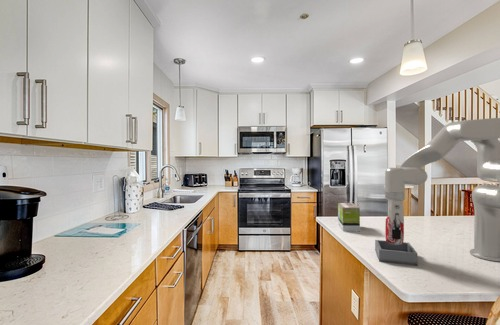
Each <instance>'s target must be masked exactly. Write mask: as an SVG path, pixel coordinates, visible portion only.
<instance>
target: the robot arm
mask: <svg viewBox="0 0 500 325" xmlns="http://www.w3.org/2000/svg"><path fill="white" fill-rule="evenodd" d="M499 139H500V117H492V118H491V117H490V118H479V119H465V120H459V121H453V122H449V123H447V124H445V125H444V126H442V128H441V129H440V130H439V131H438V132H437V133H436V134H435V135H434V137H433V138H432V139H431V140H430V141H429V142H428V143H427V144H425V146H423V147H422V148H420V149H418V150H417V151H416V152H414V153H412V154H411V155H410V156H409V157H407V158H406V159H405V160H404V161H403V162H402V163H401V164H400V165H399V166H398V167H388V168H385V171H384V172H385V173H384V174H385V176H384V177H385V178H384V190H385V191H384V199H385V200H387V215H388V216H389V217H390V221H391V222H392V223H393V229H392V238H393V239H401V228H400V221H401V223H402V224H403V223H404V224H405V214H404V201H405V199H406V197H405V196H406V195H405V194H406V192H405V191H406V185H413V186H418V185H419V186H420V185H422V184H425V183H426V181H427V180H428V173H427V171H426V170H424V169H423V167H425V166H426V165H429V164H433V163H436V162H437V161H441V160H443V159H444V158H446V157H447V155H448V154H449V153H450V152H451V151H452V150H453V149H454V148H455V147H456V146H457V145H458V143H460V142H465V141H466V142H467V141H470V142H472V143H473V144H474V146H475V148H476V153H477V154H476V155H477V158H476V160H477V162H476V175H477V178H479V179H480V181H481V180H482V181H483V182H484V181H485V182H490V183H498V184H497V185H496V184H486V183H485V184H480V185H476V186H475V187H474V188H473V189H472V191H471V199H472V203H473V208H474V210H473V211H474V223H473V224H474V225H473V226H474V229H473V230H474V235H473V236H474V239H473V242H474V246H473V247H474V248H472V249H470V250H469V253H470V255H471V256H473V257H476V258H478V259H482V260H486V261H490V262H491V261H492V262H500V140H499ZM394 221H396V222H394ZM394 224H395V226H394Z"/></svg>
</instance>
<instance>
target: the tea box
mask: <svg viewBox="0 0 500 325" xmlns="http://www.w3.org/2000/svg"><path fill="white" fill-rule="evenodd" d="M360 213H361V211H360V207H359V206H358V205H357V204H355V203H354V202H338V203H337V217H338V218H337V221H338V226H339V227H340V229H341V230H342V231H343V232H354V233H355V232H356V233H358V232H361V225H360V224H361V219H360V218H361V217H360V216H361V215H360Z"/></svg>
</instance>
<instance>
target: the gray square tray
mask: <svg viewBox="0 0 500 325" xmlns="http://www.w3.org/2000/svg"><path fill="white" fill-rule="evenodd" d="M374 241H375V242H374V251H375V254H376V256H377V257H376V258H377V259H378V262H379V263H391V264H398V265H408V266H416V267H418V252H417V251H416V250H415V248H414V247H413V245H411V243H410V242H406V241H405V242H404V241H403V244H401V245H392V244H389V243H388V242H387V241H386V240H382V239H375V240H374Z"/></svg>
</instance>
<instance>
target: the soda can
mask: <svg viewBox="0 0 500 325" xmlns="http://www.w3.org/2000/svg"><path fill="white" fill-rule="evenodd" d="M394 222H396V221H394ZM394 226H395V224H394ZM400 228H401V239H393V238H392V229H393V223H392V222H391V221H390V217H389V216H388V214H387V216H386V218H385V228H384V230H385V241H387V242H388V243H389V244H392V245H401V244H403V242H404V239H405V222H404V223H403V224H402V223H401V221H400Z"/></svg>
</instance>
